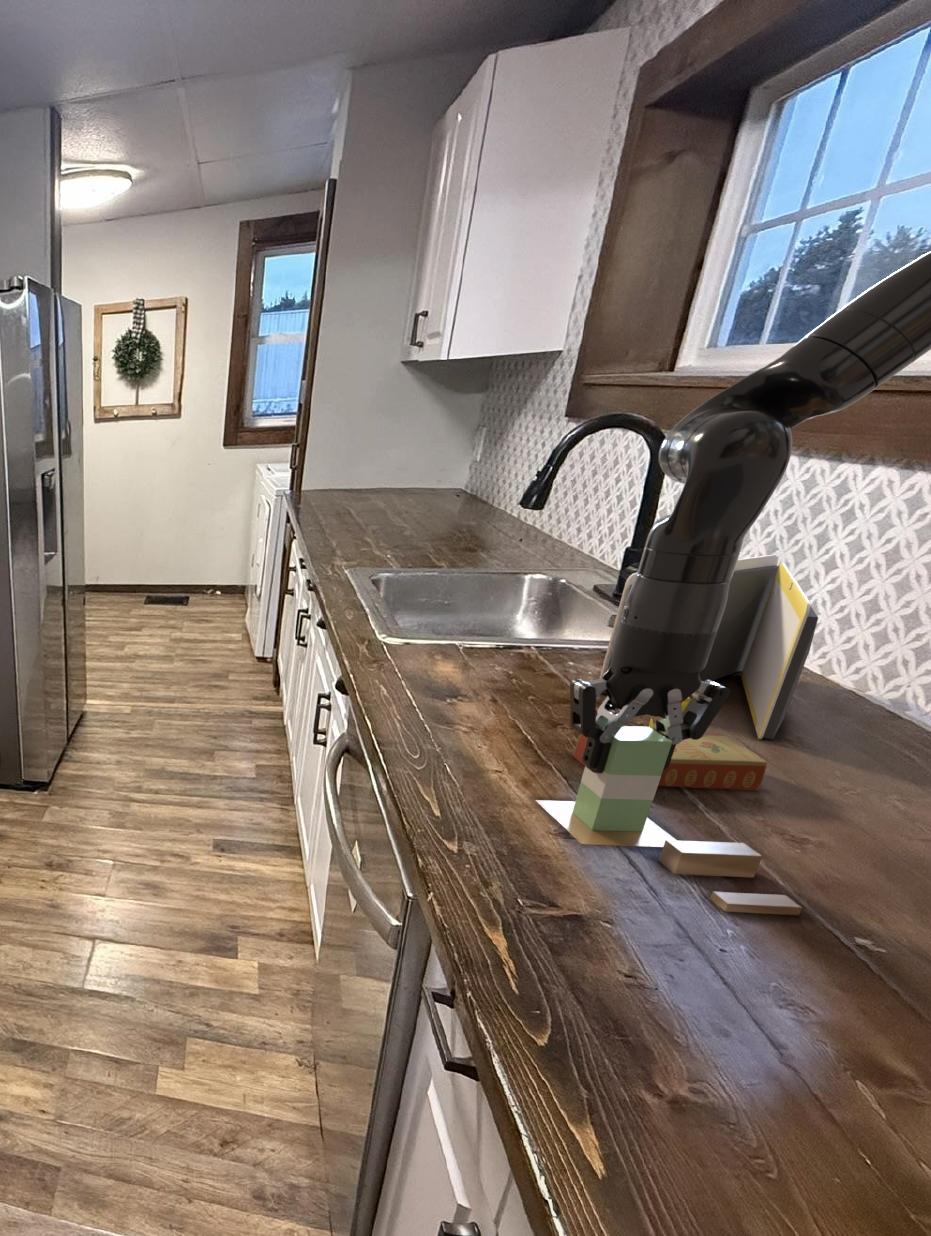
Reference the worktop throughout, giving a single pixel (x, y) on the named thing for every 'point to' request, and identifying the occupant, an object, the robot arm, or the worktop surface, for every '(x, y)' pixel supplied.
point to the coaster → (586, 836)
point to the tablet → (757, 638)
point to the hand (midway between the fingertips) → (622, 770)
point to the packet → (623, 782)
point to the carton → (707, 764)
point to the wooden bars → (725, 873)
